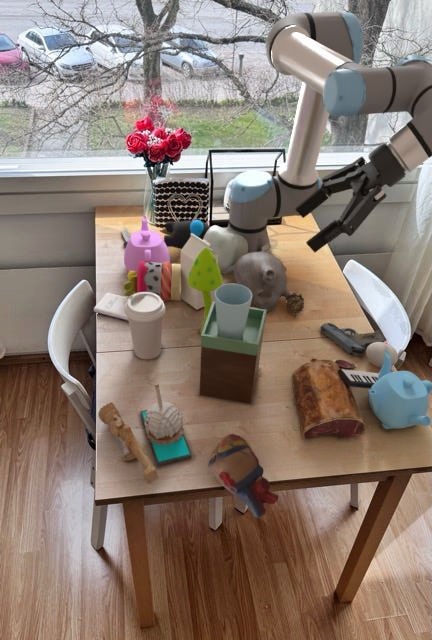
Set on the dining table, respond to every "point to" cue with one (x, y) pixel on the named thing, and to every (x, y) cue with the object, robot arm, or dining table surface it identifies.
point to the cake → (155, 280)
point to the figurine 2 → (381, 353)
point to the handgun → (352, 338)
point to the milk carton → (187, 260)
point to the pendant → (295, 303)
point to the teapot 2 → (399, 397)
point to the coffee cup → (145, 323)
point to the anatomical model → (241, 473)
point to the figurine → (127, 440)
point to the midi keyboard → (358, 378)
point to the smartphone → (169, 449)
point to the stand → (228, 374)
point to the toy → (184, 232)
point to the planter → (226, 246)
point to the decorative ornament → (163, 422)
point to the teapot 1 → (145, 248)
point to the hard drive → (112, 306)
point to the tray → (243, 345)
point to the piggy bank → (261, 278)
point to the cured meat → (326, 400)
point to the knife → (125, 236)
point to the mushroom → (205, 278)
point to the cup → (232, 309)
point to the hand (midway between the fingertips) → (304, 229)
